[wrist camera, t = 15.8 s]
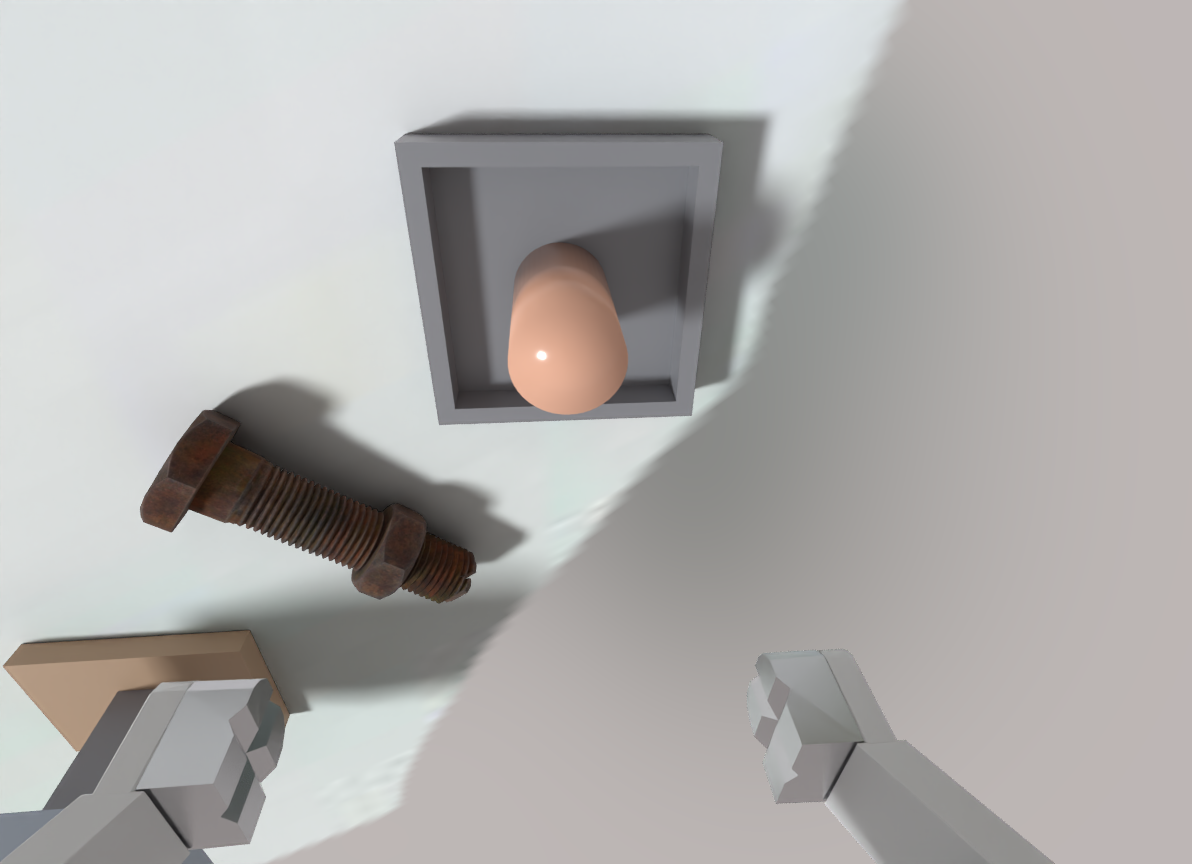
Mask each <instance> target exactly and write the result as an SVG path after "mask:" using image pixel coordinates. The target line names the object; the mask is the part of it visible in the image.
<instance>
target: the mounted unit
mask: <svg viewBox="0 0 1192 864" xmlns="http://www.w3.org/2000/svg"><path fill="white" fill-rule="evenodd" d="M3 667H4V668H5V670H6V671H7V672H8V673H9V674H10V675H11V677H12V678H13V679H14V680H15V681H16V682H17V684H18V685H19V686H20V687H21V688H22V689H23V690H24V692H25V693H26V694H27V695H28V696H29V697H30V699H31V700H32V701H33V702H34V703H35V704H36V705H37V707H38V708H39V709H40V710H41V711H42V712H43V714H44V715H45V716H46V717H47V718H48V719H49V720H50V722H51V723H52V724H53V725H54V726H55V727H56V729H57V730H58V731H59V732H60V733H61V734H62V735H63V737H64V738H65V739H66V740H67V741H68V742H69V744H70V745H71V746H72V747H73V748H74V749H75V750H76V751H80V752H79V753H78V755H77V756H76V758H75V759H74V761H73V763H72V764H71V766H70V767H69V769H68V770H67V772H66V774H65V775H64V777H63V778H62V780H61V782H60V783H59V785H58V786H57V788H56V789H55V791H54V793H53V794H52V796H51V797H50V799H49V800H48V802H47V804H46V805H45V807H44V808H43V810H41V811H29V812H17V813H4V814H0V862H1V861H2V860H3V859H4V858H5V857H7V856H8V855H9V854H10V853H12V852H13V851H14V850H15V849H16V848H18V847H19V846H20V845H21V844H22V843H24V842H25V841H26V840H27V839H29V838H30V837H31V836H32V835H33V834H35V833H36V832H37V831H38V830H39V829H41V828H42V827H43V826H44V825H46V824H47V823H48V822H49V821H50V820H52V819H53V818H54V817H55V816H56V815H58V814H59V813H60V812H61V811H62V810H64V809H65V808H66V807H67V806H69V805H70V804H71V803H72V802H73V801H75V800H76V799H77V798H78V797H79V796H81V795H86V794H93V792H94V790H95V789H96V787H97V785H98V783H99V782H100V780H101V778H102V776H103V775H104V773H105V771H106V769H107V768H108V766H109V764H110V762H111V761H112V759H113V757H114V755H115V754H116V752H117V750H118V748H119V747H120V745H121V743H122V741H123V740H124V738H125V736H126V734H127V733H128V731H129V729H130V727H131V726H132V724H133V722H134V720H135V719H136V717H137V715H138V714H139V712H140V710H141V708H142V707H143V705H144V703H145V701H146V700H147V698H148V696H149V694H150V693H151V692H152V691H153V690H154V689H155V688H156V687H157V686H158V685H159V684H160V683H163V682H182V681H214V680H239V679H263V678H267V679H268V681H269V683H270V685H271V687H272V689H273V693H272V695H271V698H270V701H271V702H273V703H275V704H277V705H278V706H280V707H281V710H282V712H283V715H284V723H285V727H286V724H287V721H288V718H289V716H290V715H289V712H288V710H287V708H286V706H285V704H284V702H283V700H282V698H281V695H280V693H279V691H278V689H277V687H276V685H275V683H274V681H273V679H272V676H271V674H270V672H269V670H268V668H267V666H266V664H265V662H264V659H263V657H262V655H261V653H260V651H259V649H258V647H257V645H256V643H255V640H254V638H253V636H252V634H251V632H250V630H246V631H230V632H213V633H197V634H181V635H164V636H148V637H132V638H115V639H99V640H82V641H66V642H50V643H33V644H21V645H20V646H19V648H18V649H17V650H16V651H15V652H14V654H13V655H12V656H11V657H10V658H9V659H8V661H7V662H6V663H5V664H4V665H3ZM189 852H190V855H189V856H188V857H187V858H186V859H185V860H184V861H183V863H182V864H213V862H212V861H211V860H210V858H209V857H208V856H207V855H206V853H205V852H204V851H203V849H195V850H189Z"/></svg>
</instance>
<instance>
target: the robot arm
mask: <svg viewBox="0 0 1192 864" xmlns="http://www.w3.org/2000/svg"><path fill="white" fill-rule="evenodd" d="M755 666H756V669H757V672H758V676H757V677H755V678H754V679H753V680H752V681H750V684H749V688H748V692H747V709H748V715H749V720H750V724H751V727H752V730H753V734H754V737H755V738H756V739H758V740H759V741H760V742H761V743H762V744H763V745H764V746H765V747H766V748H767V751H766V754H765V757H764V760H763V765H764V768H765V771H766V775H767V778H768V781H769V784H770V787H771V790H772V793H773V796H774V799H775V802H776V804H778V803H800V802H821V801H826V802H825V805H826V806H827V808H828V809H829V810H830V811H831V812H832V813H833V814H834V816H835V817H836V818H837V819H838V820H839V821H840V823H841V824H842V825H843V826H844V827H845V828H846V829H847V830H848V832H849V833H850V834H851V835H852V836H853V837H854V838H855V840H856V841H857V842H858V843H859V844H860V845H861V847H862V848H863V849H864V850H865V851H866V852H867V853H868V855H869V856H870V857H871V858H872V859H873V860H874V861H875V862H876V864H1054V862H1052V861H1051V860H1050V859H1049V858H1048V857H1046V856H1045V855H1044V854H1043V853H1042V852H1040V851H1039V850H1038V849H1037V848H1035V847H1034V846H1033V845H1032V844H1031V843H1030V842H1028V841H1027V840H1026V839H1024V838H1023V837H1022V836H1021V835H1020V834H1018V833H1017V832H1016V831H1015V830H1014V829H1013V828H1011V827H1010V826H1009V825H1008V824H1006V823H1005V822H1004V821H1003V820H1002V819H1000V818H999V817H998V816H997V815H996V814H994V813H993V812H992V811H991V810H989V809H988V808H987V807H986V806H985V805H984V804H982V803H981V802H980V801H979V800H977V799H976V798H975V797H974V796H973V795H971V794H970V793H969V792H968V791H967V790H965V789H964V788H963V787H962V786H960V785H959V784H958V783H957V782H956V781H954V780H953V779H952V778H951V777H949V776H948V775H947V774H946V773H945V772H944V771H942V770H941V769H940V768H939V767H938V766H936V765H935V764H934V763H933V762H931V761H930V760H929V759H928V758H927V757H925V756H924V755H923V754H922V753H920V752H919V751H918V750H917V749H916V748H915V747H913V746H912V745H911V744H910V743H908V742H907V741H906V740H897V739H896V737H895V735H894V733H893V731H892V729H891V728H890V726H889V724H888V722H887V720H886V718H885V716H884V714H883V712H882V710H881V708H880V706H879V704H878V703H877V701H876V699H875V697H874V695H873V693H872V691H871V689H870V687H869V685H868V684H867V682H866V680H865V678H864V676H863V674H862V672H861V670H860V668H859V666H858V664H857V663H856V661H855V659H854V657H853V655H852V654H851V653H850V652H849V651H848V650H845V649H834V650H833V649H832V650H817V651H816V650H804V651H790V652H774V653H763V654H761V655H760V656H759V657H758V660H757V662H756V665H755ZM272 693H273V689H272V687H271V685H270V683H269V681H268V679H267V678H263V679H239V680H214V681H182V682H163V683H160V684H159V685H158V686H157V687H156V688H155V689H154V690H153V691H152V692H151V693H150V694H149V696H148V698H147V700H146V701H145V703H144V705H143V707H142V708H141V710H140V712H139V714H138V715H137V717H136V719H135V720H134V722H133V724H132V726H131V727H130V729H129V731H128V733H127V734H126V736H125V738H124V740H123V741H122V743H121V745H120V747H119V748H118V750H117V752H116V754H115V755H114V757H113V759H112V761H111V762H110V764H109V766H108V768H107V769H106V771H105V773H104V775H103V776H102V778H101V780H100V782H99V783H98V785H97V787H96V789H95V790H94V792H93V794H86V795H81V796H79V797H78V798H77V799H76V800H75V801H73V802H72V803H71V804H70V805H69V806H67V807H66V808H65V809H64V810H62V811H61V812H60V813H59V814H58V815H56V816H55V817H54V818H53V819H52V820H50V821H49V822H48V823H47V824H46V825H44V826H43V827H42V828H41V829H39V830H38V831H37V832H36V833H35V834H33V835H32V836H31V837H30V838H29V839H27V840H26V841H25V842H24V843H22V844H21V845H20V846H19V847H18V848H16V849H15V850H14V851H13V852H12V853H10V854H9V855H8V856H7V857H5V858H4V859H3V860H2V861H1V862H0V864H182V863H183V861H184V860H185V859H186V858H187V857H188V856H189V855H190V852H189V850H195V849H204V848H214V847H224V846H233V845H243V844H250V842H251V839H252V836H253V833H254V830H255V827H256V824H257V821H258V819H259V816H260V813H261V810H262V807H263V804H264V801H265V798H266V796H265V793H264V790H263V788H262V785H261V782H262V781H263V780H264V779H265V778H266V777H267V776H268V775H269V774H270V773H271V772H272V771H273V770H274V769H275V768H276V766H277V763H278V760H279V757H280V754H281V751H282V747H283V740H284V733H285V723H284V715H283V712H282V710H281V707H280V706H278V705H277V704H275V703H273V702H271V701H270V698H271V695H272Z"/></svg>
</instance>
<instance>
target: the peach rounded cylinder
mask: <svg viewBox="0 0 1192 864" xmlns="http://www.w3.org/2000/svg"><path fill="white" fill-rule="evenodd" d="M627 367H628V352H627V347H626V344H625V340H624V337H623V333H622V330H621V327H620V323H619V320H618V317H617V313H616V310H615V306H614V303H613V300H612V296H611V293H610V290H609V286H608V283H607V279H606V276H605V273H604V270H603V268H602V266H601V265H600V263H599V262H598V260H597V259H596V258H595V257H594V256H593V255H592V254H591V253H590V252H588V251H587V250H585V249H584V248H582V247H580V246H577V245H574V244H570V243H561V242H559V243H551V244H547V245H544V246H541V247H539V248H537V249H535V250H534V251H532V252H531V253H530V254H529V255H528V256H527V257H526V258H525V259H524V260H523V261H522V263H521V264H520V266H519V268H518V270H517V272H516V276H515V280H514V289H513V301H512V313H511V325H510V337H509V349H508V370H509V374H510V378H511V380H512V382H513V384H514V386H515V388H516V389H517V391H518V392H519V393H520V394H521V396H522V397H523V398H524V399H526V400H527V401H528V402H529V403H531V404H532V405H534V406H535V407H537V408H539V409H541V410H544V411H547V412H551V413H555V414H564V415H570V414H579V413H584V412H587V411H590V410H592V409H595V408H597V407H599V406H600V405H602V404H604V403H605V402H606V401H608V400H609V399H610V398H611V397H612V396H613V395H614V394H615V393H616V392H617V390H618V389H619V388H620V386H621V384H622V382H623V380H624V378H625V376H626V372H627Z"/></svg>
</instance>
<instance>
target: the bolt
mask: <svg viewBox="0 0 1192 864" xmlns="http://www.w3.org/2000/svg"><path fill="white" fill-rule="evenodd" d="M240 424H241V423H240V422H238V421H236V420H233V419H231V418H229V417H227V416H225V415H223V414H221V413H218V412H216V411H213V410H204V411H202V412H201V414H200V415H199V416H198V417H197V418H196V419H195V421H194V422H193V423H192V424H191V426H190V427H189V428H188V430H187V431H186V432H185V434H184V435H183V436H182V438H181V439H180V440H179V441H178V443H177V444H176V446H175V448H174V449H173V451H172V452H171V454H170V455H169V457H168V459H167V460H166V462H165V463H164V465H163V467H162V468H161V470H160V471H159V473H158V475H157V477H156V478H155V480H154V482H153V483H152V485H151V487H150V488H149V490H148V492H147V493H146V495H145V497H144V499H143V502H142V504H141V507H140V513H141V518H142V520H143V522H145V523H147V524H150V525H153V526H155V527H158V528H161V529H163V530H166V531H169V532H173V530H174V529H175V528H176V526H177V525H178V524H179V522H180V521H181V520H182V518H183V517H184V516H185V514H186V513H187V511H188V510H192V511H195V512H197V513H200V514H203V515H205V516H208V517H211V518H213V519H216V520H219V521H221V522H224V523H228V522H230V523H232V524H237V525H239V526H241V525H244V524H246V528H247V529H249V528H251V527H253V526H254V529H253V530H254V531H255V532H256V531H258V530H260V529H261V534H262V535H263V534H264V533H266V532H268V534H267V537H271V536H273V535H274V540H278V539H280V538H281V542H282V543H284V542H286V541H288V545H289V546H291V545H292V544H294V543H295V548H299V547H301V546H302V551H305V550H306V549H309V554H311V553H313V552H315V555H316V556H318V555H320V554H322V558H323V559H324V558H326V557H329V561H332V560H334V559H335V563H336V564H337V563H339V562H341V564H342V566H345V565H348V569H351V568H353V570H352V582H353V584H354V586H355V587H356V588H357V590H358V591H359V592H361V593H364V594H366V595H369V596H372V597H374V598H377V599H382V598H384V597H387V596H389V595H391V594H393V593H394V592H395V591H396V590H397V589H398V588H399V587H401V586H402V589H403V590H405V589H408V591H409V592H412V591H413V592H414V594H418V593H419V595H420V596H421V597H423V596H425V598H426V599H431V601H436V602H437V603H441V602H444V601H446V602H449V601H452V600H454V599H456V598H458V597H460V596H462V595H464V594H466V593H467V592H468V590H469V589H470V587H471V579H470V578H468V579H466V578H467V577H469V576H471V575H472V574H474V573H476V562H475V559H474V555H473V553H472V552H468V551H467V550H466V549H463V548H462V547H460V546H457V545H455V544H453V545H452V543H451V542H446V540H443V539H442V540H441V538H439V537H435V535H432V534H431V535H430V534H429V533H428V532H426V528H427V524H426V521H425V519H424V518H423V517H422V516H421V515H420V514H419V513H417V512H415V511H413V510H411V509H409V508H407V507H404V506H402V505H400V504H398V503H396V504H393V505H390V506H388V507H387V508H386V509H385V510H384V511H383V512H379V513H378V512H377V509H373V510H372V509H371V507H370V506H368V507H365V504H361V505H359V502H358V501H355V502H353V500H352V498H350V499H348V500H347V499H346V496H342V497H340V493H336V494H334V491H333V490H329V491H327V487H323V488H321V485H320V484H317V485H315V486H314V481H310V482H309V483H308V482H307V478H304V479H302V480H301V476H300V475H297V476H295V477H294V473H293V472H290V473H289V474H287V470H286V469H283V470H282V471H280V466H278V465H277V466H276V467H274V466H273V463H271V462H269V461H266V459H265V458H264V457H262V456H260V455H258V454H256V453H253V452H251V451H249V450H247V449H245V448H242V447H240V446H238V445H236V444H234V443H231V440H232V438H233V436H234V435H235V433H236V431H237V430H238V428H239V426H240Z"/></svg>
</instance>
